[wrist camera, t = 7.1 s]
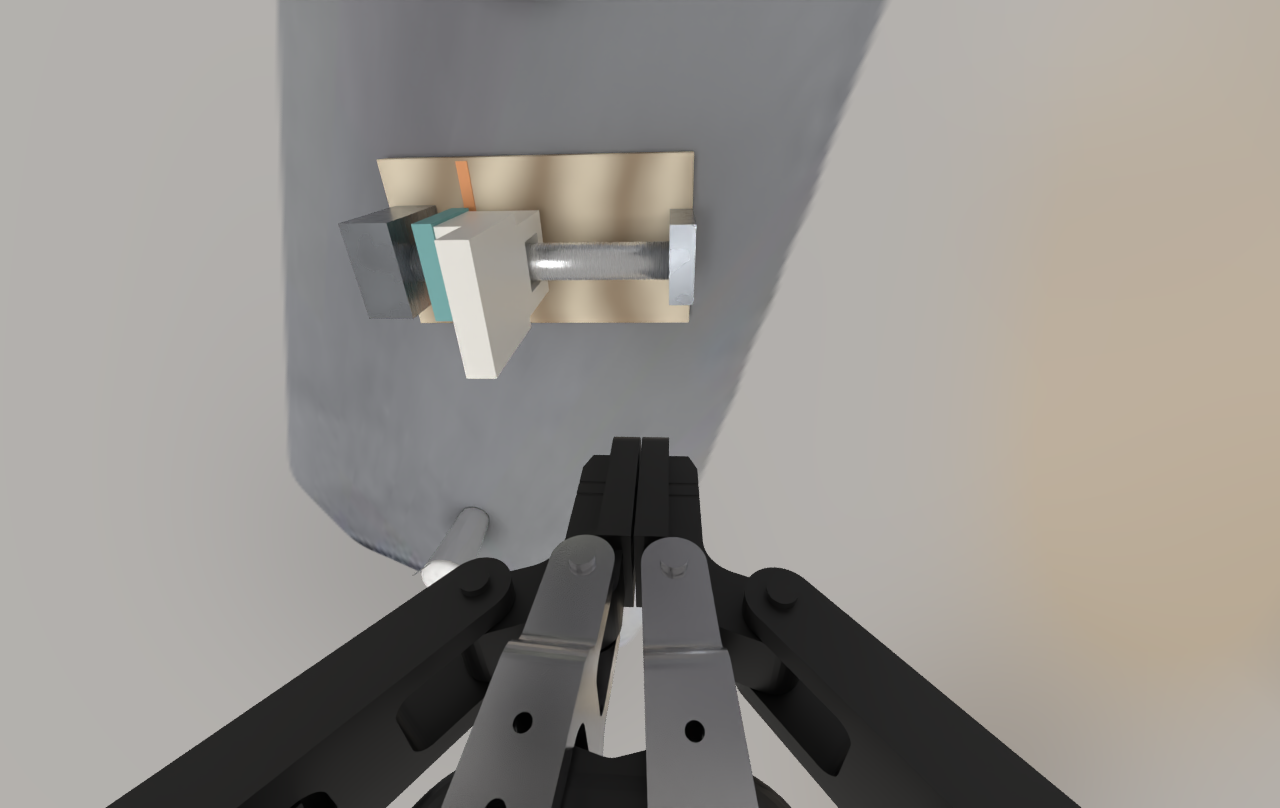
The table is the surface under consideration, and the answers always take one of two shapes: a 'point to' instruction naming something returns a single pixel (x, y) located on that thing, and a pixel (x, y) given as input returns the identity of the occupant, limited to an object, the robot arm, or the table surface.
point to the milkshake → (457, 545)
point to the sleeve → (489, 284)
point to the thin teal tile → (434, 260)
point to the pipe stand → (545, 232)
